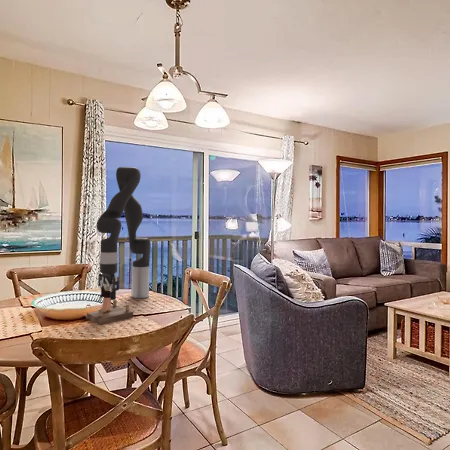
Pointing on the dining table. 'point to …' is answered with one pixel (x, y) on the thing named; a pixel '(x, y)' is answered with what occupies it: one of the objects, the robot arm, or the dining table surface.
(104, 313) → the grey peg board
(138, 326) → the dining table surface
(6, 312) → the dining table surface
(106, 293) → the grandmother figurine
